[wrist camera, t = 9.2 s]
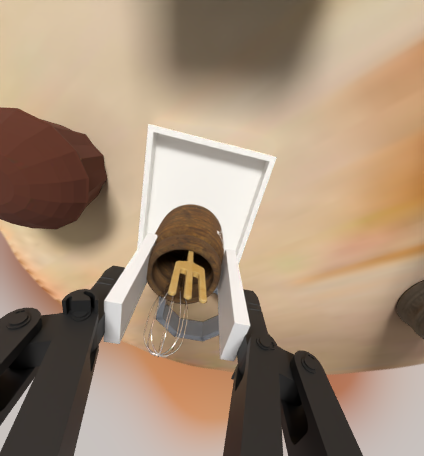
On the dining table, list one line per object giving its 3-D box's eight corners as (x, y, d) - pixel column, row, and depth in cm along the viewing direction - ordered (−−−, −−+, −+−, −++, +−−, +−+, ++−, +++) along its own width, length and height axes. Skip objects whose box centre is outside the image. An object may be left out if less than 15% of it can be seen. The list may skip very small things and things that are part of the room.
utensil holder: (155, 247, 20) (92, 376, 10) (170, 190, 18) (106, 276, 7) (210, 262, 21) (209, 397, 10) (232, 210, 19) (260, 315, 8)
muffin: (110, 117, 23) (41, 105, 13) (124, 209, 27) (81, 247, 18) (4, 111, 22) (-138, 97, 13) (37, 205, 27) (-52, 242, 18)
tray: (154, 125, 23) (148, 124, 21) (270, 155, 24) (276, 157, 22) (142, 243, 29) (136, 252, 27) (234, 262, 31) (235, 272, 28)
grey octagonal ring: (166, 265, 31) (162, 277, 28) (240, 279, 32) (243, 292, 29) (157, 318, 36) (153, 333, 33) (222, 329, 37) (222, 344, 34)
